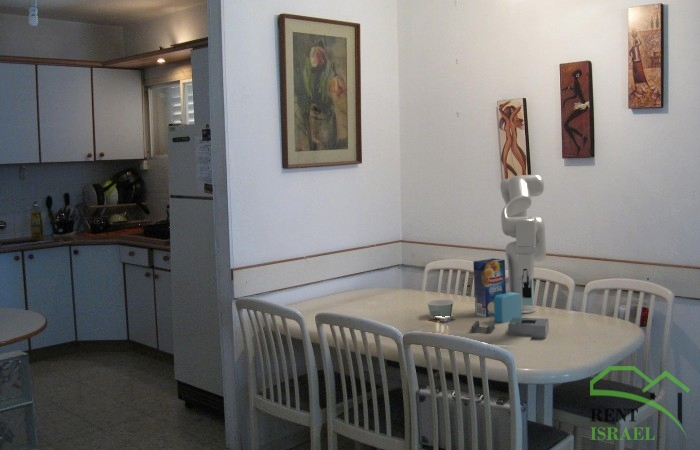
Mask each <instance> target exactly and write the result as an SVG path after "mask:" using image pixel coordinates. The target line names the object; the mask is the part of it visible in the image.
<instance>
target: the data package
mask: <svg viewBox="0 0 700 450" xmlns="http://www.w3.org/2000/svg"><path fill="white" fill-rule="evenodd" d="M494 314H495V316H494V322H495V323H500V324H505V323H510V321H511V320H512V318H523V317H522V314H521V295H520V294H519V293H513V292H509V291H508V292H506V293H505V294H501V295H496V296H495V297H494Z"/></svg>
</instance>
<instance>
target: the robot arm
mask: <svg viewBox="0 0 700 450" xmlns="http://www.w3.org/2000/svg"><path fill="white" fill-rule="evenodd" d="M544 189H545V183H544V179H543V177H542V176H541V175H539V174H524V175H522V174H521V175H520V174H519V175H515V176H512V177H510V178H505V179H503V180H502V181H501V182H500V193H501V196H502V199H503V201H504V203H505V205H504V207H503V209H502V211H501V215H500V221H501V230H502V232H503V234H504V235H505V236H508V237H511V238H513V239H515V241H511V242H509V243H507V244H506V246H505V255H506V256H505V257H506V263H507V272H508V273H507V274H508V277H507V278H508V293H509V292H513V293H519V294H520V295H521V315H522V314H531V313H534V312H535V310H536V308H535V307H534V306H533V305H522V289H523V298H531V287H530V280H531V279H532V278H533V279H534V275H535V263H539V262H541V263H542V262H543V261H545V260H546V258H547V244H546V228H545V221H544V220H543V217H541V216H538V215H537V216H536V215H531V216H529V215H528V214H527V210H528V209H529V208H530V207H531V205H532V197H539V196H541V195H542V194H543V193H544ZM527 278H529V280H527ZM522 279H523V288H522V284H521V280H522ZM527 281H528V282H527Z"/></svg>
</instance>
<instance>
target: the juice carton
mask: <svg viewBox="0 0 700 450" xmlns="http://www.w3.org/2000/svg"><path fill="white" fill-rule="evenodd" d="M505 260H506V259H501V258H487V259H480V260H473V282H474V283H473V284H474V286H473V287H474V290H473V291H474V308H475V310H474V311H475V312H474V313H475V315H477V316H481V317H484V318H489V317H493V316H494V317H495V314H494V297H495V296H496V295H501V294H505V293H507V291H506V290H507V287H506V285H507V284H506V263H505V262H506V261H505Z"/></svg>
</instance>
